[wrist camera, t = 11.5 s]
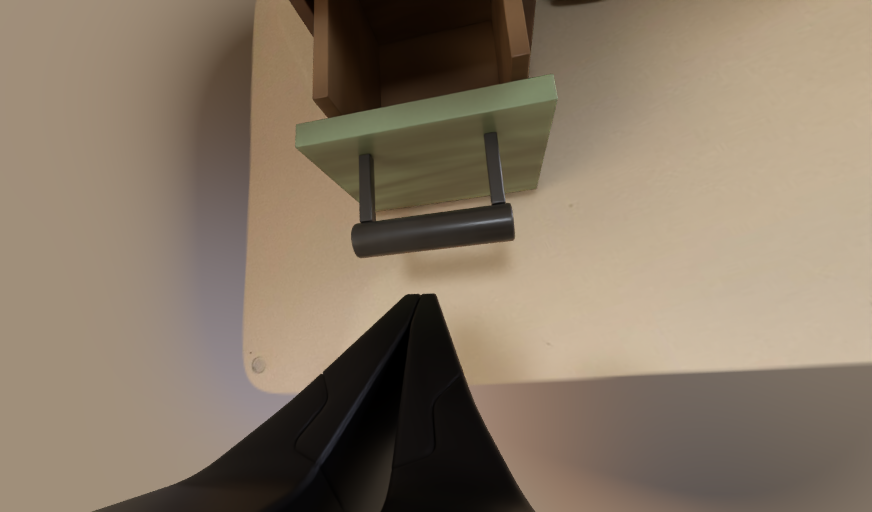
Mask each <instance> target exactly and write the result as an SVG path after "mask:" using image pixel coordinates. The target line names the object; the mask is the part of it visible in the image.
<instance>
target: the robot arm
mask: <svg viewBox="0 0 872 512" xmlns="http://www.w3.org/2000/svg"><path fill="white" fill-rule="evenodd" d="M93 512H535V511H534V509H533V508H532V507H531V505H530V504H529V502H528V501H527V499H526V498H525V496H524V495H523V493H522V491H521V490H520V488H519V486H518V485H517V483H516V481H515V480H514V478H513V476H512V474H511V472H510V471H509V468H508V467H507V465H506V463H505V461H504V459H503V457H502V455H501V454H500V452H499V450H498V448H497V446H496V445H495V442H494V440H493V439H492V437H491V435H490V433H489V431H488V429H487V427H486V426H485V424H484V421H483V419H482V417H481V415H480V413H479V411H478V409H477V407H476V405H475V402H474V400H473V398H472V395H471V392H470V390H469V387H468V384H467V381H466V378H465V376H464V373H463V370H462V367H461V365H460V362H459V359H458V356H457V353H456V350H455V347H454V345H453V342H452V339H451V336H450V333H449V330H448V327H447V325H446V322H445V319H444V316H443V313H442V310H441V307H440V305H439V302H438V299H437V296H436V294H422V295H420V294H407V295H405V296H404V297H403V298H402V299H401V300H400V301H399V302H398V303H397V304H395V305H394V306H393V307H392V308H391V309H390V310H389V311H388V312H387V313H386V314H385V315H384V316H383V317H381V318H380V319H379V320H378V321H377V322H376V323H375V324H374V325H373V326H372V327H371V328H370V329H369V330H367V331H366V332H365V333H364V334H363V335H362V336H361V337H360V338H359V339H358V340H357V341H356V342H355V343H353V344H352V345H351V346H350V347H349V348H348V349H347V350H346V351H345V352H344V353H343V354H342V355H341V356H340V357H338V358H337V359H336V360H335V361H334V362H333V363H332V364H331V365H330V366H329V367H328V368H327V369H326V370H324V371H323V374H320V375H319V376H318V377H317V378H316V379H315V380H314V381H312V382H311V383H310V384H309V385H308V386H307V387H306V388H305V389H304V390H302V391H301V392H300V393H299V394H298V395H297V396H296V397H295V398H293V400H291V401H290V402H289V403H288V404H286V405H285V406H284V407H283V408H281V409H280V410H279V411H278V412H277V413H275V414H274V415H273V416H272V417H270V418H269V419H268V420H267V421H265V422H264V423H263V424H262V425H260V426H259V427H258V428H257V429H255V430H254V431H253V432H252V433H250V434H249V435H248V436H247V437H245V438H244V439H243V440H242V441H240V442H239V443H238V444H237V445H235V446H234V447H233V448H231V449H230V450H229V451H228V452H226V453H225V454H224V455H223V456H221V457H220V458H219V459H217V460H216V461H215V462H213V463H212V464H211V465H209V466H208V467H206V468H205V469H203V470H202V471H200V472H198V473H197V474H195V475H193V476H191V477H189V478H187V479H185V480H183V481H181V482H178V483H176V484H174V485H171V486H168V487H165V488H162V489H159V490H156V491H153V492H150V493H147V494H144V495H141V496H138V497H135V498H132V499H129V500H126V501H123V502H120V503H117V504H114V505H111V506H108V507H105V508H102V509H99V510H96V511H93Z"/></svg>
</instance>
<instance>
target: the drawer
mask: <svg viewBox="0 0 872 512" xmlns="http://www.w3.org/2000/svg"><path fill="white" fill-rule="evenodd" d="M529 63H530V47H529V41H528V35H527V28H526V22H525V16H524V10H523V3H522V0H314V49H313V100H314V102H315V103H316V104H317V105H318V106H319V108H320V109H321V110H322V111H323V112H324V114H325V115H326V116H327V117H328V118H327V119H322V120H317V121H312V122H307V123H302V124H297V125H296V138H295V147H296V148H297V149H298V150H299V151H300V152H301V153H302V154H303V155H305V156H306V157H307V158H308V159H309V160H310V161H311V162H313V163H314V164H315V165H316V166H317V167H318V168H320V169H321V170H322V171H323V172H324V173H325V174H326V175H328V176H329V177H330V178H331V179H332V180H333V181H335V182H336V183H337V184H338V185H339V186H340V187H341V188H343V189H344V190H345V191H346V192H347V193H348V194H349V195H351V196H352V197H353V198H354V199H355V200H356V201H358V202H359V204H360V222H361V223H358V224H355V225H354V226H353V228H352V232H351V240H352V246H353V249H354V252H355V254H356V255H357V256H358V257H359V258H368V257H376V256H385V255H394V254H402V253H411V252H419V251H428V250H437V249H445V248H454V247H462V246H471V245H480V244H488V243H497V242H506V241H513V240H514V239H515V229H514V219H513V212H512V206H511V204H510V203H506V201H505V193H511V192H518V191H525V190H532V189H536V188H537V184H538V180H539V175H540V171H541V167H542V163H543V159H544V154H545V150H546V146H547V142H548V137H549V133H550V129H551V125H552V121H553V116H554V112H555V108H556V104H557V99H558V97H557V92H556V86H555V80H554V75H553V74H549V75H544V76H539V77H534V78H528V73H529ZM483 196H490V197H491V206H483V207H476V208H469V209H461V210H454V211H447V212H439V213H432V214H425V215H417V216H410V217H402V218H395V219H388V220H380V221H376V213H375V212H376V211H383V210H390V209H398V208H405V207H412V206H419V205H426V204H433V203H440V202H447V201H454V200H461V199H468V198H475V197H483ZM505 203H506V204H505Z"/></svg>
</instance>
